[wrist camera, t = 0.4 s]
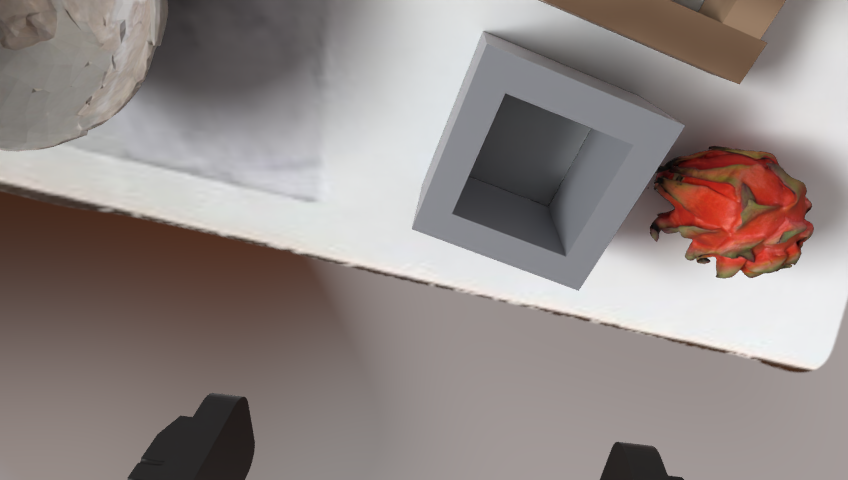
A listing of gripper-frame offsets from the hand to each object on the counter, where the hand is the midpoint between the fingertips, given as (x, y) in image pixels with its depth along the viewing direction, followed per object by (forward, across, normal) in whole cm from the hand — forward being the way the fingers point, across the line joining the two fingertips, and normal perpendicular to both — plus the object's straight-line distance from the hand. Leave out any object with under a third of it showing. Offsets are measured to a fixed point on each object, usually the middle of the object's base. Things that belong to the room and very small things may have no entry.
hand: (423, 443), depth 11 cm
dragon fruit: (+29, -19, +4) cm, 35 cm away
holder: (+28, -5, +2) cm, 29 cm away
